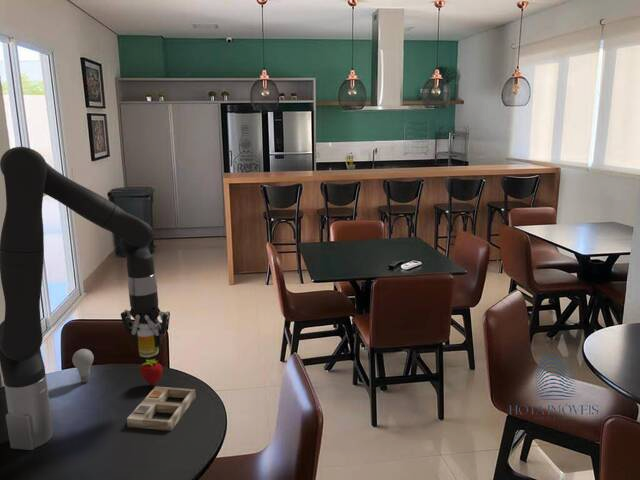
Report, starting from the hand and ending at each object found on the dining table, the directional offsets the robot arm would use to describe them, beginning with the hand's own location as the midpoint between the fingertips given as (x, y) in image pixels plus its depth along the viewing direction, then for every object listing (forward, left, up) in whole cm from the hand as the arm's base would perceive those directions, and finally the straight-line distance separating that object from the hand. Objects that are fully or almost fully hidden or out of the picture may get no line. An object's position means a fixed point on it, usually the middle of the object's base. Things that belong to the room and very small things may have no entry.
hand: (148, 345), depth 149 cm
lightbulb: (+8, +27, -18) cm, 33 cm away
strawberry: (+9, +5, -18) cm, 21 cm away
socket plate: (-4, -5, -18) cm, 19 cm away
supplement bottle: (0, 0, -3) cm, 3 cm away
